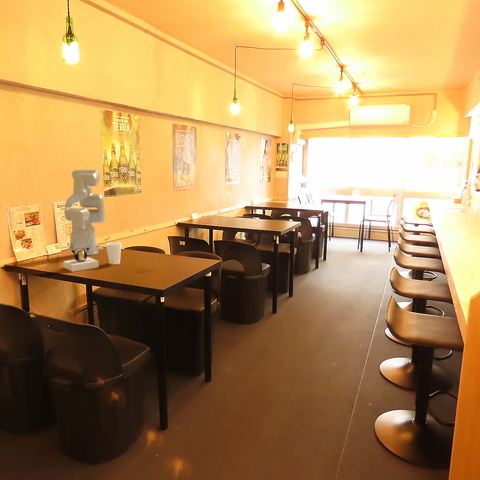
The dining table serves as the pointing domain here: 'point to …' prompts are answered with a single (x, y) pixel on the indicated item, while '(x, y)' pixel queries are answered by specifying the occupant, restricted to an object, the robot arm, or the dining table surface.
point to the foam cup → (114, 252)
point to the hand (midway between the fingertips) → (80, 259)
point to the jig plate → (81, 264)
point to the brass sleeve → (81, 256)
